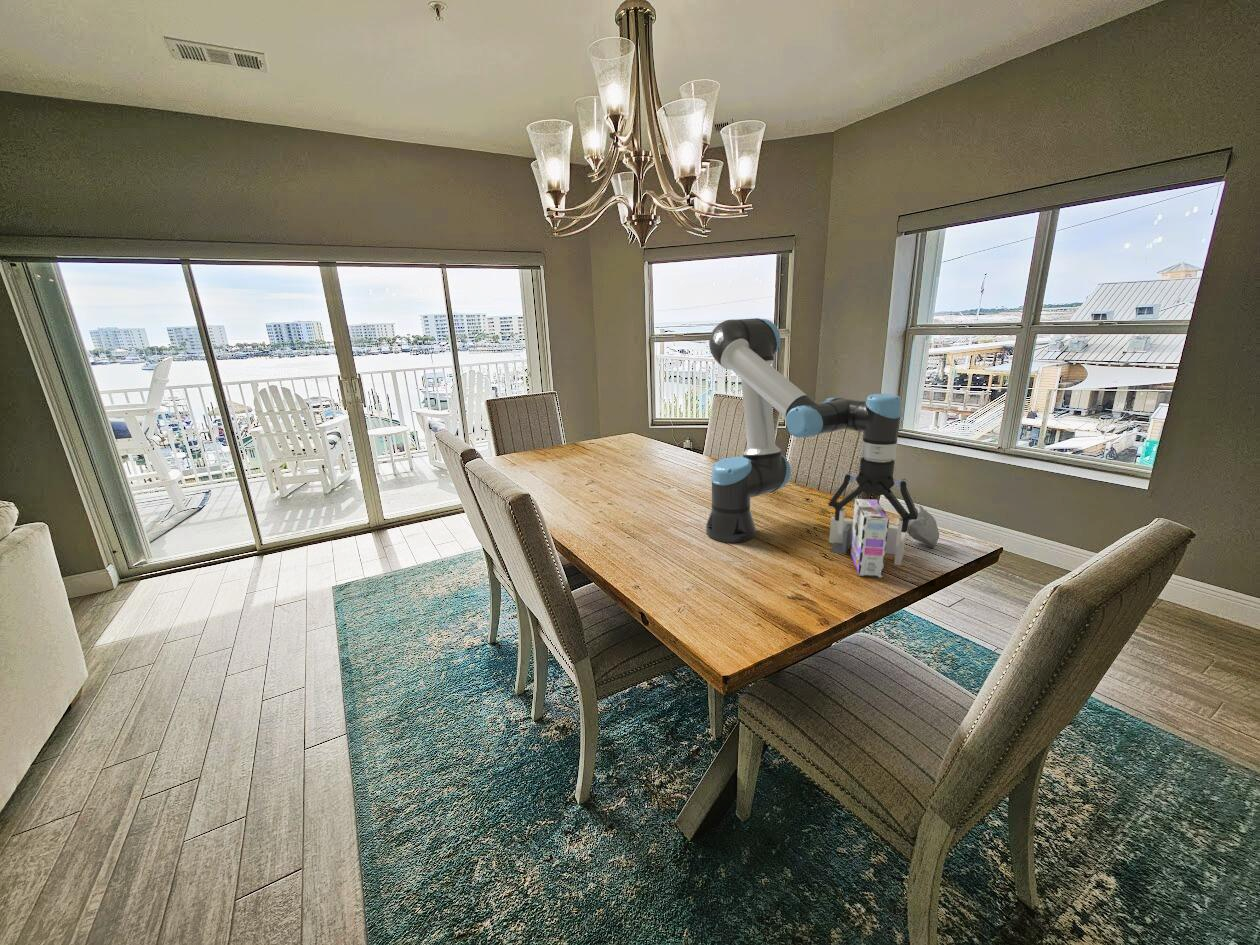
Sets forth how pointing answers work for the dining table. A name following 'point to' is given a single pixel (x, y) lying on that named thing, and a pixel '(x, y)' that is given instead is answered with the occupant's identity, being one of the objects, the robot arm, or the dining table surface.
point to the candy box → (869, 537)
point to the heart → (923, 528)
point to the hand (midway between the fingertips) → (868, 537)
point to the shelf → (890, 543)
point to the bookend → (843, 546)
